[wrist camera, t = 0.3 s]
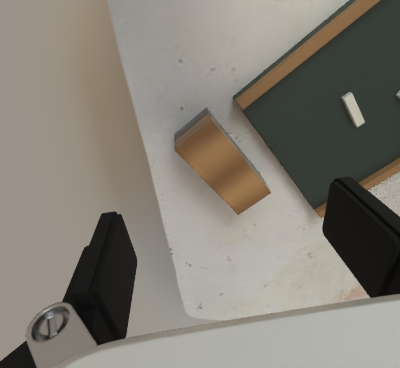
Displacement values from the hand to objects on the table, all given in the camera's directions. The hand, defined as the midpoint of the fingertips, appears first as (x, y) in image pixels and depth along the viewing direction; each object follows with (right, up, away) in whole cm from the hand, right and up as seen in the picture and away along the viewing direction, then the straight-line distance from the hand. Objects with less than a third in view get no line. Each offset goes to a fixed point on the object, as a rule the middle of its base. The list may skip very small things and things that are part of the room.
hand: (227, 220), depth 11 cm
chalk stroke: (+17, +10, +18) cm, 27 cm away
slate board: (+19, +12, +19) cm, 29 cm away
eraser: (+1, +5, +21) cm, 22 cm away
